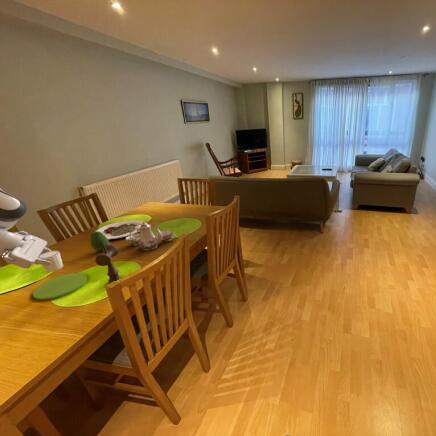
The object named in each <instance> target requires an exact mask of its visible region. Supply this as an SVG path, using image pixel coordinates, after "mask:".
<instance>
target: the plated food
mask: <svg viewBox="0 0 436 436" xmlns="http://www.w3.org/2000/svg"><path fill="white" fill-rule="evenodd" d="M143 222H145V223H147V222H146V221H144V220H139V219H132V220H131V219H129V220H124V221H117V222H113V223H110V224H107V225H105V226H101V227H100V228H98V229H97V230H95V231H94V232H96V231H98V232H101V233H102V234H103V235H105V236H106V238H107V239H108V240H116V239H120V238H126V237H128V236H129V235H130V231H131V230H133V229H136V230H133V231H132V232H131V234H137V233H141V232H140V231H138V232H137V230H138V229H139V228H138V227H139V226H140V225H142V223H143Z"/></svg>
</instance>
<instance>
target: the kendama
mask: <svg viewBox="0 0 436 436" xmlns="http://www.w3.org/2000/svg"><path fill="white" fill-rule="evenodd" d="M102 246H103V251H102V254H98V255H97V256H96V257H95V263H96V264H97V265H98V266H100V267H106V266H107V273H106V276H107V277H109V279H108V283H109V284H111V282H113V281H117V280H119V279H121V278H122V279H123V277H122V276H121V275H120V273H119V269H117V268H116V267H115V265H114V264H113V262H112V257H116V256H117V255H118V254H119V249H118V247H117V246H115V245H113V244H109V245H107V246H105V245H104V243H102ZM122 279H121V280H122Z"/></svg>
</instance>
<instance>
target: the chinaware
mask: <svg viewBox="0 0 436 436" xmlns="http://www.w3.org/2000/svg"><path fill="white" fill-rule="evenodd" d="M145 222H146V221H144V222H143V223H142V225H140V226H139V227H138V228H139V229H138V230H137V233H135V234H131V232H132V231H133V230H136V229H133V230H131V231H130V235H129V236H126V237H125V239H124V241H123V243H124V244H125V245H129V244H130V245H133V246H139V248H140V249H141V250H142V251H145V252H146V251H153V250H155V249H157V248H158V247H159V244H160V243H161V242H162V240H163V241H165V242H170V241H172V240H173V239H174V240H175V239H176V238H177V234H175V230H174V229H171V230H170V229H165V230H163V231H160V229H159V228H158V227H159V223H156V224H155V226H154V230H155V233H156V235H155V234H154V233H153V231H152V224H150V223H147V222H146V223H145ZM138 231H140V232H138ZM125 241H128V243H127V242H125Z"/></svg>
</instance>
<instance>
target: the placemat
mask: <svg viewBox="0 0 436 436" xmlns="http://www.w3.org/2000/svg"><path fill="white" fill-rule="evenodd" d="M87 281H88V276H87V275H86V274H85V273H83V272H72V273H66V274H63V275H58V276H56V277H54V278H51V279H48V280H47V281H44V282H43V283H42V284H39V286H37V287H36V288H35V289H34V290H33V292H32V296H33V298H34V299H35V300H37V301H49V300H55V299H59V298H62V297H65V296H67V295H69V294H71V293H73V292H75V291H77V290H79V289H80V288H82V287H83V286H84V285H85V284H86V283H87Z"/></svg>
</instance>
